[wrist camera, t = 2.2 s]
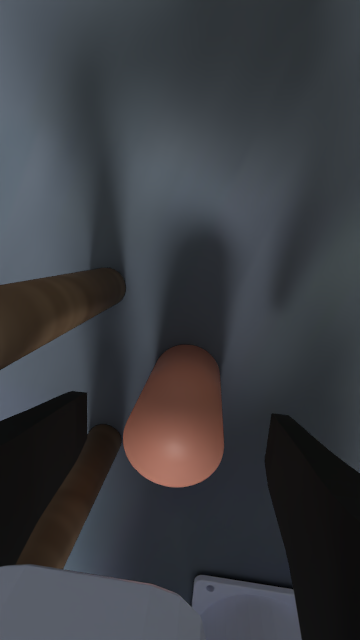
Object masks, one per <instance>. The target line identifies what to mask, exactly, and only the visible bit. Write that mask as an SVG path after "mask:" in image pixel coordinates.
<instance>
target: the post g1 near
mask: <svg viewBox="0 0 360 640" xmlns="http://www.w3.org/2000/svg"><path fill="white" fill-rule="evenodd" d="M125 291H126V285H125V281H124V279H123V277H122V276H121V274H120V273H119V272H117V271H116V270H114V269H112V268H99V269H93V270H87V271H81V272H75V273H69V274H63V275H57V276H51V277H45V278H39V279H34V280H28V281H22V282H16V283H10V284H4V285H0V370H1V369H3V368H4V367H6V366H8V365H10V364H11V363H13V362H15V361H17V360H18V359H20V358H22V357H24V356H26V355H27V354H29V353H31V352H33V351H34V350H36V349H38V348H40V347H41V346H43V345H45V344H47V343H48V342H50V341H52V340H54V339H55V338H57V337H59V336H61V335H63V334H64V333H66V332H68V331H70V330H71V329H73V328H75V327H77V326H78V325H80V324H82V323H84V322H85V321H87V320H89V319H91V318H92V317H94V316H96V315H98V314H100V313H101V312H103V311H105V310H107V309H108V308H110V307H112V306H114V305H115V304H117V303H119V302H120V301H121V300H122V298H123V297H124V295H125Z"/></svg>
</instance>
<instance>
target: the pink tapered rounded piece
mask: <svg viewBox="0 0 360 640" xmlns="http://www.w3.org/2000/svg"><path fill="white" fill-rule="evenodd" d="M123 445H124V450H125V453H126V455H127V457H128V459H129V461H130V463H131V464H132V466H133V467H134V468H135V469H136V470H137V471H138V472H139V473H140V474H141V475H142V476H144V477H145V478H147V479H149V480H150V481H152V482H154V483H157V484H160V485H163V486H168V487H187V486H191V485H195V484H197V483H200V482H201V481H203V480H205V479H206V478H208V477H209V476H210V475H211V474H212V473H213V472H214V471H215V470H216V469H217V467H218V466H219V464H220V462H221V459H222V456H223V451H224V435H223V418H222V400H221V382H220V371H219V367H218V365H217V363H216V361H215V359H214V358H213V357H212V356H211V355H210V354H209V353H208V352H207V351H206V350H204V349H202V348H200V347H198V346H194V345H178V346H174V347H172V348H170V349H168V350H167V351H165V352H164V353H163V354H162V355H161V356H160V357H159V359H158V360H157V362H156V364H155V366H154V368H153V370H152V372H151V374H150V376H149V378H148V380H147V382H146V384H145V386H144V388H143V390H142V392H141V394H140V396H139V398H138V400H137V402H136V404H135V406H134V408H133V410H132V412H131V414H130V416H129V418H128V420H127V423H126V425H125V428H124V433H123Z"/></svg>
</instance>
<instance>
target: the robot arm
mask: <svg viewBox="0 0 360 640" xmlns="http://www.w3.org/2000/svg"><path fill="white" fill-rule="evenodd" d="M86 440H87V393H84V392H75V391H71V392H68V393H65V394H63V395H60V396H58V397H56V398H53V399H51V400H49V401H47V402H45V403H42V404H40V405H38V406H36V407H33V408H31V409H29V410H27V411H24V412H22V413H19V414H17V415H14V416H12V417H9V418H7V419H4V420H2V421H0V640H360V473H358V472H357V471H356V470H354V469H353V468H351V467H350V466H349V465H347V464H346V463H345V462H343V461H342V460H341V459H339V458H338V457H337V456H336V455H334V454H333V453H332V452H331V451H329V450H328V449H327V448H326V447H324V446H323V445H322V444H321V443H320V442H319V441H317V440H316V439H315V438H314V437H313V436H312V435H311V434H309V433H308V432H307V431H306V430H305V429H304V428H303V427H302V426H300V425H299V424H298V423H297V422H296V421H295V420H294V419H292V418H291V417H290V416H288V415H280V414H272V415H271V422H270V428H269V435H268V441H267V448H266V454H265V468H266V475H267V482H268V488H269V491H270V495H271V499H272V503H273V506H274V510H275V514H276V517H277V521H278V524H279V528H280V532H281V535H282V539H283V542H284V546H285V550H286V554H287V558H288V562H289V568H290V573H291V579H292V584H293V589H288V588H282V587H276V586H270V585H263V584H257V583H251V582H245V581H238V580H232V579H226V578H220V577H213V576H207V575H198V576H197V577H195V580H194V588H193V598H192V607H191V606H190V605H189V604H188V603H187V602H186V601H185V600H184V599H183V598H182V597H181V596H180V595H179V594H178V593H175V592H172V591H170V590H167V589H164V588H162V587H159V586H156V585H154V584H150V583H144V582H137V581H131V580H125V579H119V578H113V577H107V576H100V575H94V574H88V573H82V572H76V571H70V570H64V569H57V568H51V567H45V566H39V565H33V564H23V565H16V563H17V561H18V559H19V557H20V555H21V553H22V551H23V549H24V547H25V545H26V543H27V541H28V539H29V537H30V535H31V533H32V531H33V530H34V528H35V526H36V524H37V522H38V521H39V519H40V517H41V516H42V514H43V512H44V511H45V509H46V508H47V506H48V505H49V503H50V502H51V500H52V498H53V497H54V495H55V494H56V492H57V491H58V489H59V488H60V486H61V485H62V483H63V482H64V480H65V479H66V477H67V475H68V474H69V472H70V471H71V469H72V468H73V466H74V464H75V463H76V461H77V459H78V457H79V455H80V453H81V451H82V449H83V446H84V444H85V442H86Z"/></svg>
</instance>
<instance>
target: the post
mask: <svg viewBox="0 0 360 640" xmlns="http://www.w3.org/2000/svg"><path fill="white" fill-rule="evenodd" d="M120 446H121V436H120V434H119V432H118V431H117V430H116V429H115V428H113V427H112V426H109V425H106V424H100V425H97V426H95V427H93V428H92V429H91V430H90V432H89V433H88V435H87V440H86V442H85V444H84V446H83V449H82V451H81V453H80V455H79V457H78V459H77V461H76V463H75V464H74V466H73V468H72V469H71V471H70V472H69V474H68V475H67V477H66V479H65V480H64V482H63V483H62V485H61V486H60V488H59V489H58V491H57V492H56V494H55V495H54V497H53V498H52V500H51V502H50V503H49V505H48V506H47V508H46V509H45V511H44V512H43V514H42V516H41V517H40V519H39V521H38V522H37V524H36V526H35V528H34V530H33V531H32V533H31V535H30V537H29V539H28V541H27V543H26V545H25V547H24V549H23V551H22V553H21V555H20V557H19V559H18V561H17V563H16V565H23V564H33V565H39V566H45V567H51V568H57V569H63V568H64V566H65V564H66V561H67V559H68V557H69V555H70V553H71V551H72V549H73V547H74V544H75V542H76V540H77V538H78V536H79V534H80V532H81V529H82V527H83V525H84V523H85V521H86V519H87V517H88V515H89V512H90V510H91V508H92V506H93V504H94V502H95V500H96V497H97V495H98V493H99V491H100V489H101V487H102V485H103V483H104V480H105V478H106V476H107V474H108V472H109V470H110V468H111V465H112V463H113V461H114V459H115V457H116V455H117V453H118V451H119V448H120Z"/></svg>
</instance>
